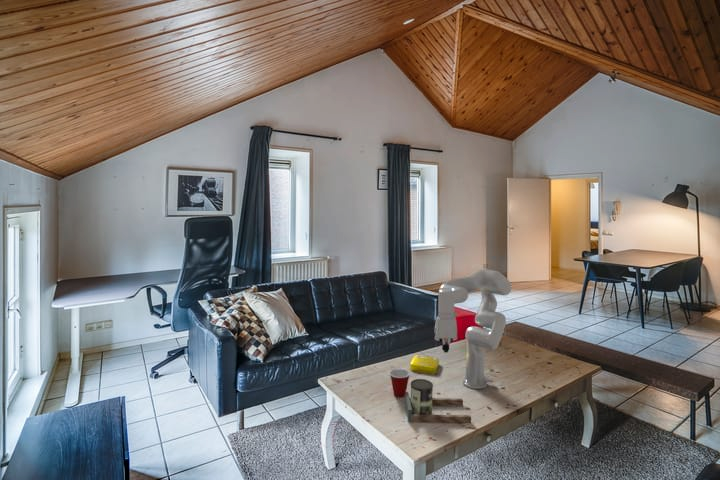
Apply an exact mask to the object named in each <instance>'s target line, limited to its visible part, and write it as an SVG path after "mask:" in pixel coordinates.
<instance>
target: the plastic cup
mask: <svg viewBox="0 0 720 480" xmlns="http://www.w3.org/2000/svg"><path fill="white" fill-rule="evenodd" d="M388 374H389V377H390V380H391V385H392V391H393V392H392V393H393V395H394V397H396V398H405V392H407V389H408V388H407V387H408V383H409V378H410V376H411V372H410V371H409V370H407V369H403V368H396V369H392V370H390V371H389V372H388Z"/></svg>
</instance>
